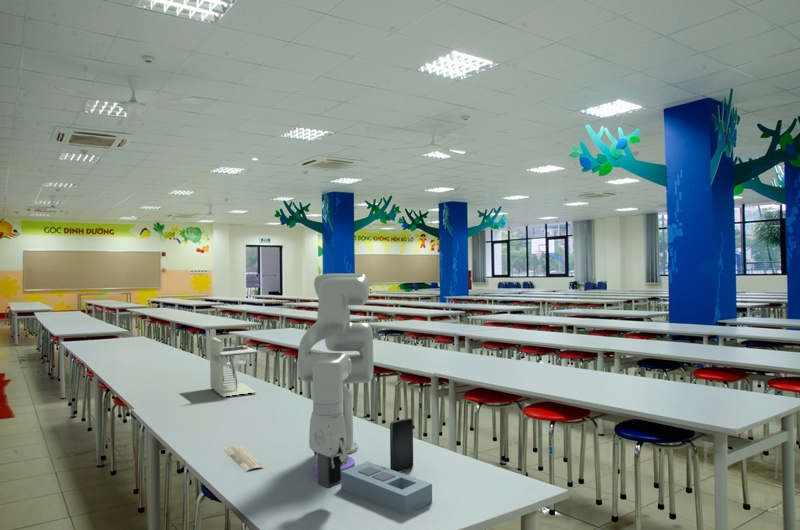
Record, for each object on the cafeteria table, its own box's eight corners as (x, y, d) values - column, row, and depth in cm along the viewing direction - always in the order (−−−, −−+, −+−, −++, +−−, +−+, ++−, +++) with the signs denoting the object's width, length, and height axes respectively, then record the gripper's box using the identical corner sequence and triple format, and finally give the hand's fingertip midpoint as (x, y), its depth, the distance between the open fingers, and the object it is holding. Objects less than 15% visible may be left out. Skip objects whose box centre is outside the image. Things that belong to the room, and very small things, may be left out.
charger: (318, 484, 135) (317, 448, 135) (330, 479, 138) (329, 444, 138) (327, 488, 132) (327, 452, 132) (340, 483, 135) (339, 447, 135)
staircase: (260, 392, 264) (260, 332, 265) (223, 397, 255) (222, 334, 255) (245, 382, 288) (244, 327, 288) (210, 387, 278) (209, 329, 279)
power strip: (331, 485, 148) (331, 466, 148) (358, 475, 155) (358, 457, 155) (405, 516, 129) (405, 495, 129) (432, 503, 136) (432, 482, 136)
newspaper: (264, 471, 161) (264, 465, 161) (240, 477, 157) (240, 470, 157) (242, 450, 181) (242, 444, 181) (221, 454, 177) (221, 448, 177)
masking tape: (326, 486, 148) (326, 472, 148) (307, 473, 158) (307, 460, 158) (362, 476, 155) (362, 463, 155) (342, 464, 165) (342, 452, 165)
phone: (411, 467, 161) (410, 417, 161) (413, 468, 160) (412, 418, 160) (390, 473, 156) (389, 422, 157) (392, 474, 155) (391, 423, 156)
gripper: (296, 404, 138) (297, 474, 138) (338, 417, 126) (339, 494, 127) (319, 398, 143) (320, 466, 144) (361, 410, 132) (362, 484, 132)
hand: (329, 478), depth 135 cm, fingers closed on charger, 4 cm apart
